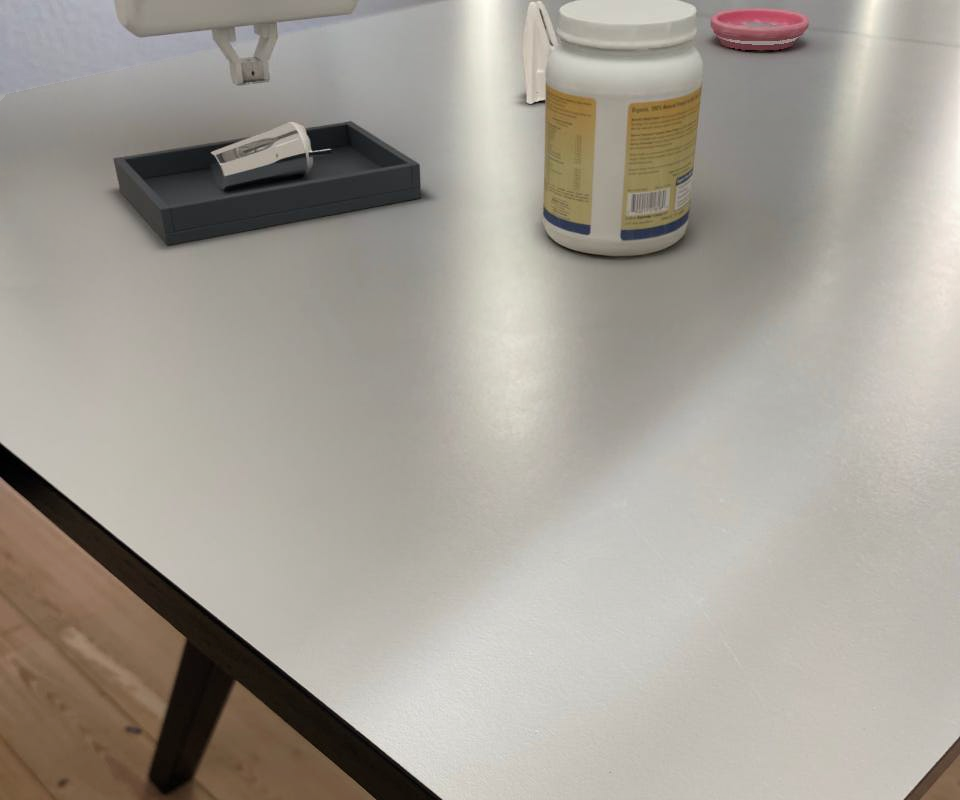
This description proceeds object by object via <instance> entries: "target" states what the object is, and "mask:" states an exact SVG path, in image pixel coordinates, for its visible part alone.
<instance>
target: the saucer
mask: <svg viewBox="0 0 960 800" xmlns="http://www.w3.org/2000/svg"><path fill="white" fill-rule="evenodd" d="M749 23H766V24H773V25H783V26H778V27H750V26H739V25H744V24H749ZM809 25H810V18H809V17H808V16H807V15H805V14H803V13H801V12H797V11H792V10H787V9H778V8H738V9H737V8H735V9H729V10H723V11H720V12H718V13H715V14H714V15H712V16H711V18H710V28H711V29H712V31H713V33H714V35H715V34H716V35H715V36H716V37H717V38H718V40H719V43H720V44H721V45H722V46H724V47H726V48H729V47H730V48H729V49H732V48H735V49H734V50H738V49H741V50H740V51H745V50H774V51H780V50H779V49H781V50H786V49H789V48H790V47H793V46H794V45H795V43H796V41H797V40H795V41H792V42H789V43H784V44H774V45H752V44H741V43H735V42H730V41H726V40H723V39H721V38H719V37H722V38H726V39H732V40H740V41H780V40H781V41H782V40H787V39H793V38H796V37H799V36H801V35H802V36H803V35H804V33H805V32H806V31H807V30H808V28H809ZM718 36H719V37H718ZM802 36H801V37H802ZM799 38H800V37H799ZM788 47H789V48H788ZM785 48H786V49H785Z"/></svg>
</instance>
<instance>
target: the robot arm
mask: <svg viewBox="0 0 960 800" xmlns="http://www.w3.org/2000/svg"><path fill="white" fill-rule="evenodd" d="M113 1H114V9H115V13H116V17H117V19H118V22H119V23H120V24H121V26H122V27H123V28H125V30H126V31H128V32H129V34H131V35H133V36H135V37H137V38H149V37H158V36H165V35H166V36H167V35H176V34H185V33H186V34H187V33H193V32H202V31H211V36H212V40H213V41H214V43H215V44H216V46H217V47H218V49H219V50H220V52H221V53H222V54H223V55H224V57H225V59H226V60H227V61H228V64H229V71H230V78H231V82H232V84H234V85H235V86H236V87H240V86H246V85H255V84H263V83H269V82H270V80H271V79H270V78H271V77H270V68H269V60H270V58H271V56H272V54H273V52H274V48H275V46H276V43H277V40H278V38H279V34H278V24H277V23H285V22H293V21H294V22H295V21H302V20H311V19H321V18H329V17H338V16H346V15H347V16H348V15H352V14H353V13H354V11H355V10H356V7H357V6H358V4H359V2H360V0H113ZM248 26H253V32H254V34H256V35H257V36H259V37H258V41H257V45H256V48H255V50H254V53H253V56H249V57H242V58H241V57H240V56H239V55H238V53H237V52H236V50H235V49H234V47H233V46H232V44H231V43H235V42H236V41H237V36H236V28H239V27H240V28H241V27H248Z"/></svg>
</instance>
